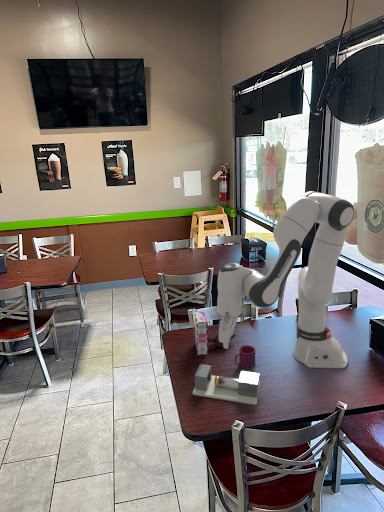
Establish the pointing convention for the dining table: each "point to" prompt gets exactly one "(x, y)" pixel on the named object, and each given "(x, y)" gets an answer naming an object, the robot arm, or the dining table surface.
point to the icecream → (216, 341)
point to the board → (224, 393)
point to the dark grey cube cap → (248, 384)
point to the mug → (246, 356)
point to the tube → (226, 382)
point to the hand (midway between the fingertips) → (228, 341)
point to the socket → (202, 377)
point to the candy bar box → (201, 333)
